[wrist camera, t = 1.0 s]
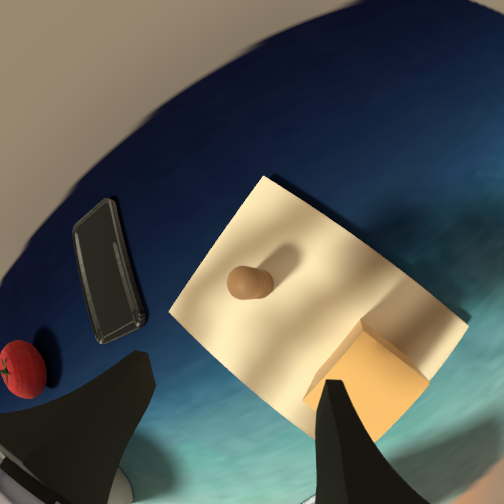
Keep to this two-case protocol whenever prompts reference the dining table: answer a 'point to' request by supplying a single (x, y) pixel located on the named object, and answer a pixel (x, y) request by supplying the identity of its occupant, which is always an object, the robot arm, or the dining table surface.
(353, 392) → the tan foam cube
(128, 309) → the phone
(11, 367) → the tomato
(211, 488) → the dining table surface
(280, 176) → the dining table surface
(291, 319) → the board
